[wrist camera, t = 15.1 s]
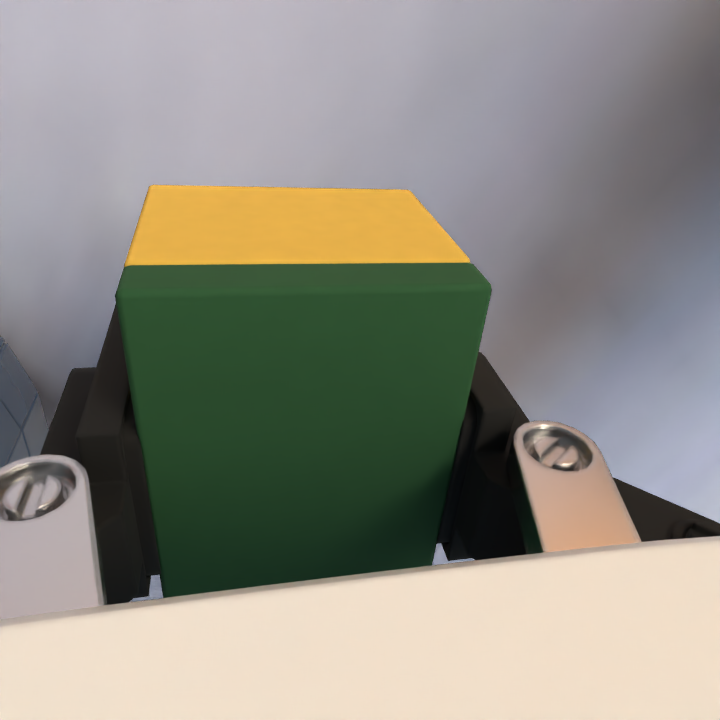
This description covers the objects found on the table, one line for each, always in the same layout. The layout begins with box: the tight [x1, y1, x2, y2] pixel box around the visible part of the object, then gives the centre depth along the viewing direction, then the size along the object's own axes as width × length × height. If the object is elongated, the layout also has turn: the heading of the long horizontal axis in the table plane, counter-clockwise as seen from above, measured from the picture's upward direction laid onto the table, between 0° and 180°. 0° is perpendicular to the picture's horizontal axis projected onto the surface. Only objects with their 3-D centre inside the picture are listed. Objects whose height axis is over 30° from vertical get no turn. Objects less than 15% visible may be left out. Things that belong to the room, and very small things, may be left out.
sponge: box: [115, 185, 492, 598], centre depth 10 cm, size 7×4×4 cm, turn 175°
